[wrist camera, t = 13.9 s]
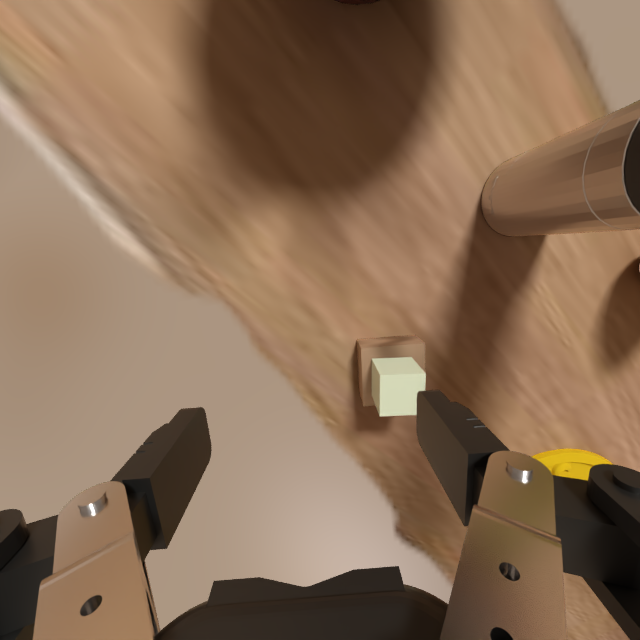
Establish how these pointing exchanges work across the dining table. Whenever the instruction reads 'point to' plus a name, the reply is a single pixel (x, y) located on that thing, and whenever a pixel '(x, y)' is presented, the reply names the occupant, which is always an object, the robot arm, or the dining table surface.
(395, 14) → the dining table surface
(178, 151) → the dining table surface
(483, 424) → the robot arm
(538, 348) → the dining table surface
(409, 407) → the sage wooden cube
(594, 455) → the decorative medallion
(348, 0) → the potted plant
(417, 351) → the tan square block
